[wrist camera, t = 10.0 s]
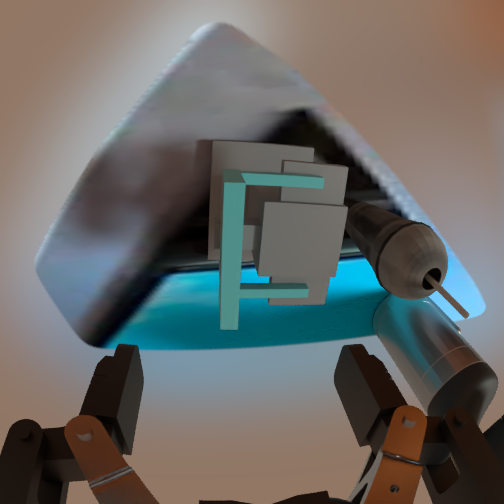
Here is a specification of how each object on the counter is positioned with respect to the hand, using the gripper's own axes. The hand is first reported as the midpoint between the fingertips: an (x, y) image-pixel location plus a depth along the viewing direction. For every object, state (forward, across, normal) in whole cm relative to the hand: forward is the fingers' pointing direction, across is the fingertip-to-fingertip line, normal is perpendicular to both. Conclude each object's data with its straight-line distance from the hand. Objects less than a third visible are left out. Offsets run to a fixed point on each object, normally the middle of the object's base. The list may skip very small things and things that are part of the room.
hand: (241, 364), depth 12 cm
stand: (+25, -4, 0) cm, 25 cm away
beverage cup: (+26, -16, +1) cm, 30 cm away
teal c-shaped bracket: (+14, -3, 0) cm, 14 cm away
